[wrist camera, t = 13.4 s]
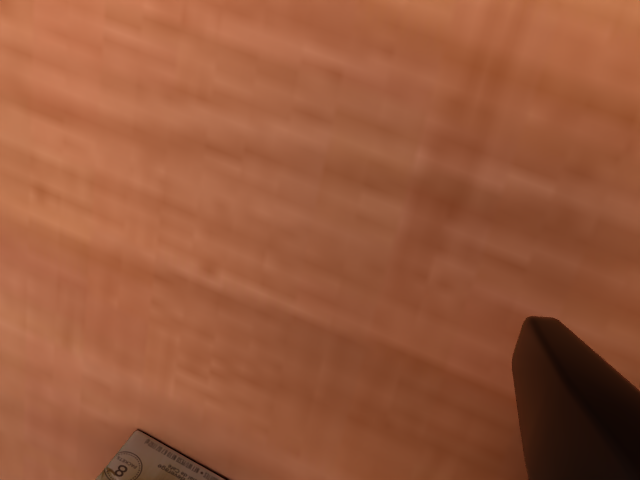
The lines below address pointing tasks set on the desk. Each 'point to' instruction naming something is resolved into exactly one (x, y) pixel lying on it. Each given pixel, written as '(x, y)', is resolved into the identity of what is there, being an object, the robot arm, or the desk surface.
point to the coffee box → (152, 463)
